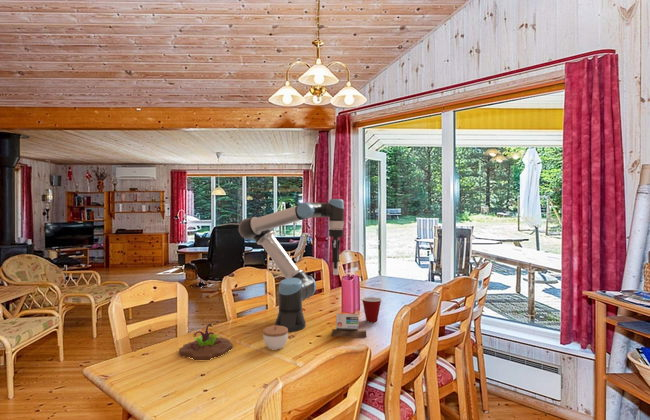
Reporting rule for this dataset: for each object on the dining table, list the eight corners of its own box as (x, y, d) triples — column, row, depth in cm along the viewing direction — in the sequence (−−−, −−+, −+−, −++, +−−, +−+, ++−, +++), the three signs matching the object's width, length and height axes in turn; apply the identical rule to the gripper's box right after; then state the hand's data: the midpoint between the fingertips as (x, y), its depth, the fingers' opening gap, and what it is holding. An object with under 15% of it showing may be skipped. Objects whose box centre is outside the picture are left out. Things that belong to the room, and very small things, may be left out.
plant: (241, 347, 156) (241, 322, 156) (205, 365, 140) (204, 336, 139) (209, 339, 167) (209, 314, 166) (172, 354, 150) (171, 327, 150)
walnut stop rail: (332, 335, 169) (332, 330, 169) (332, 334, 171) (332, 329, 171) (366, 337, 167) (366, 331, 167) (366, 335, 169) (366, 330, 169)
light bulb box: (358, 317, 178) (359, 313, 168) (358, 331, 175) (359, 328, 166) (336, 316, 179) (336, 312, 169) (336, 330, 176) (335, 328, 166)
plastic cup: (381, 317, 196) (381, 295, 196) (382, 324, 185) (382, 301, 185) (361, 317, 197) (361, 295, 197) (361, 323, 186) (361, 300, 186)
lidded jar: (264, 353, 149) (264, 331, 149) (261, 344, 159) (261, 323, 159) (290, 351, 152) (289, 328, 152) (285, 341, 162) (285, 320, 162)
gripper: (342, 230, 179) (341, 277, 180) (344, 228, 192) (344, 272, 192) (327, 229, 180) (326, 276, 181) (330, 227, 193) (330, 271, 194)
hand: (335, 274), depth 187 cm, fingers closed
